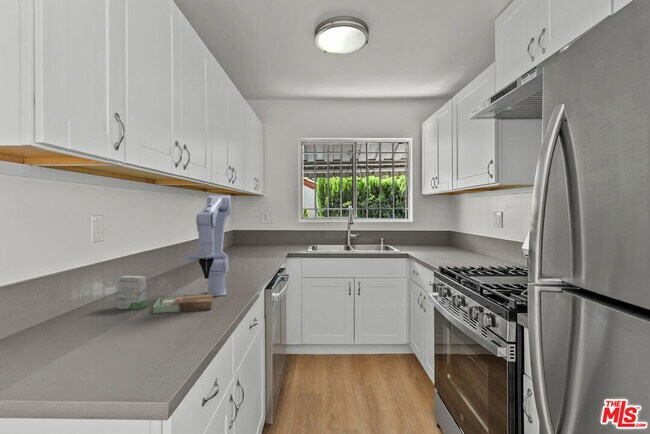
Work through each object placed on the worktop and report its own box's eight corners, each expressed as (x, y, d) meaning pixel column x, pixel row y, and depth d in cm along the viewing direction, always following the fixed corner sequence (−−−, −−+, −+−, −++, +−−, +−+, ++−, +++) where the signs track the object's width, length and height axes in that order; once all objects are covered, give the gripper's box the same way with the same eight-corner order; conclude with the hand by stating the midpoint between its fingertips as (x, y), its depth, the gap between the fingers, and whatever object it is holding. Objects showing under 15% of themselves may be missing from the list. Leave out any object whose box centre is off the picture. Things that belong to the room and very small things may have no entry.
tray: (159, 304, 143) (159, 298, 143) (183, 302, 145) (183, 296, 145) (152, 313, 130) (152, 306, 130) (179, 311, 133) (179, 305, 133)
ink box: (117, 309, 136) (116, 277, 136) (126, 305, 141) (125, 274, 141) (139, 309, 135) (138, 278, 135) (147, 306, 140) (146, 275, 140)
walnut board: (183, 302, 145) (183, 295, 145) (212, 300, 148) (212, 293, 148) (179, 311, 133) (179, 303, 133) (211, 309, 135) (211, 301, 135)
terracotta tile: (172, 307, 137) (169, 304, 137) (182, 299, 138) (179, 296, 138) (170, 310, 133) (167, 307, 132) (180, 301, 134) (177, 298, 133)
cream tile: (176, 299, 143) (176, 303, 143) (164, 299, 142) (164, 303, 142) (174, 301, 139) (174, 306, 139) (161, 302, 138) (161, 306, 138)
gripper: (185, 244, 136) (185, 281, 136) (225, 243, 139) (225, 279, 140) (187, 242, 143) (187, 277, 143) (225, 242, 146) (226, 275, 147)
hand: (206, 278), depth 142 cm, fingers closed
